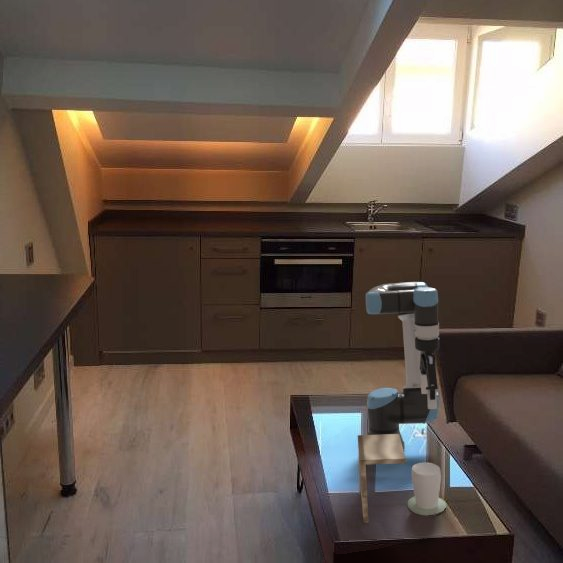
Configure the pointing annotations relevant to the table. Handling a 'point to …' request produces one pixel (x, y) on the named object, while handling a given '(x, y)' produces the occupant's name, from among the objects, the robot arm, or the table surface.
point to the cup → (426, 484)
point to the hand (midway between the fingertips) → (428, 400)
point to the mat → (426, 512)
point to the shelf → (377, 458)
